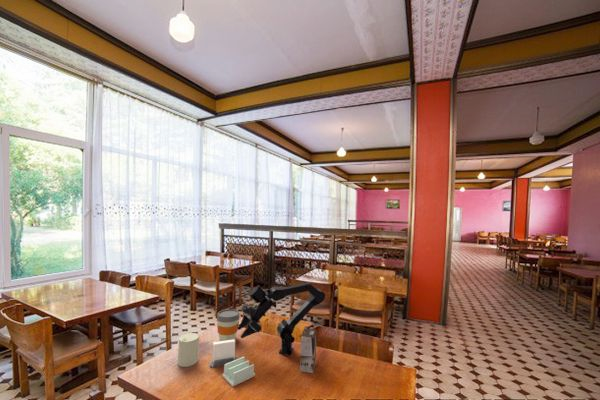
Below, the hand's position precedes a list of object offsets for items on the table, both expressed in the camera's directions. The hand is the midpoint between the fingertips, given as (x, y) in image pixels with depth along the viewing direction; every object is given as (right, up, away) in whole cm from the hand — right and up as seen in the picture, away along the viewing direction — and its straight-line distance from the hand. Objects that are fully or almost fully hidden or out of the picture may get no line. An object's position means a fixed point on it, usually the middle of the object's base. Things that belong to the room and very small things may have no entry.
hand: (239, 333), depth 130 cm
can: (-25, -12, -3) cm, 28 cm away
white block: (-7, -13, -3) cm, 15 cm away
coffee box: (+34, -14, -5) cm, 37 cm away
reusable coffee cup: (-11, -14, +19) cm, 26 cm away
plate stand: (-7, -13, -3) cm, 15 cm away
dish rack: (+3, -12, -13) cm, 18 cm away
